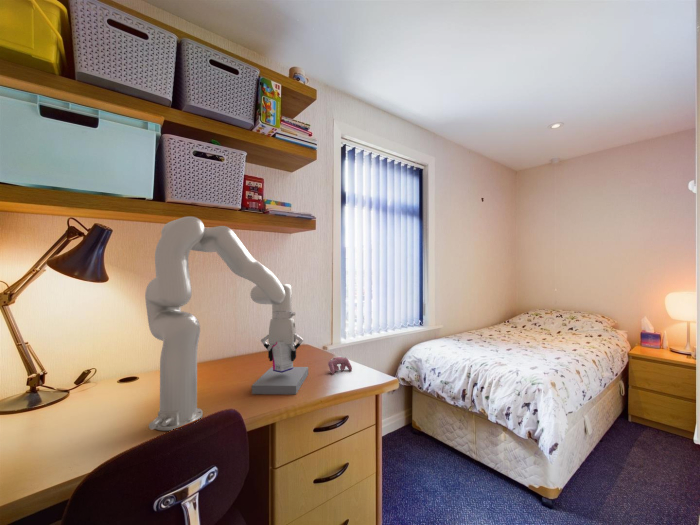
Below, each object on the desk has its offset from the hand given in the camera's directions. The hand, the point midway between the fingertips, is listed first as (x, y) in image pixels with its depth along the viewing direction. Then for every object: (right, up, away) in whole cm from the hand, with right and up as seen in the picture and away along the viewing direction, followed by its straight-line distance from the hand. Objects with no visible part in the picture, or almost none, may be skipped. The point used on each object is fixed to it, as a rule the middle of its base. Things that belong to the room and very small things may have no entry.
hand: (282, 360), depth 118 cm
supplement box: (0, -4, 0) cm, 4 cm away
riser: (0, -9, 0) cm, 9 cm away
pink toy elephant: (+22, -9, +14) cm, 28 cm away
